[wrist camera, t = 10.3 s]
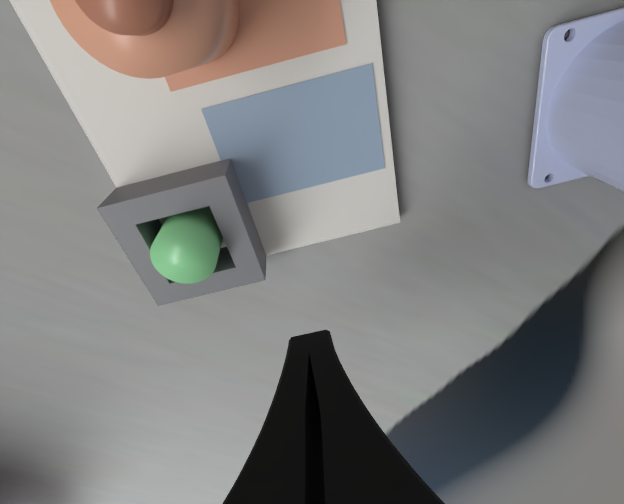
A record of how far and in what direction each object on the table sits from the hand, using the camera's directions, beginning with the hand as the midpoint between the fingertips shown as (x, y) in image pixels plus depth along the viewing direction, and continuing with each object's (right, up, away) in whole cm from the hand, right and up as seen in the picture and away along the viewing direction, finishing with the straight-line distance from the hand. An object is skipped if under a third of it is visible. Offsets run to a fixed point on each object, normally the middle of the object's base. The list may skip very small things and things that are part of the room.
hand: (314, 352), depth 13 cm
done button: (-6, +5, +7) cm, 10 cm away
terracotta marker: (-5, +13, +2) cm, 14 cm away
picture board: (-4, +10, +5) cm, 12 cm away
